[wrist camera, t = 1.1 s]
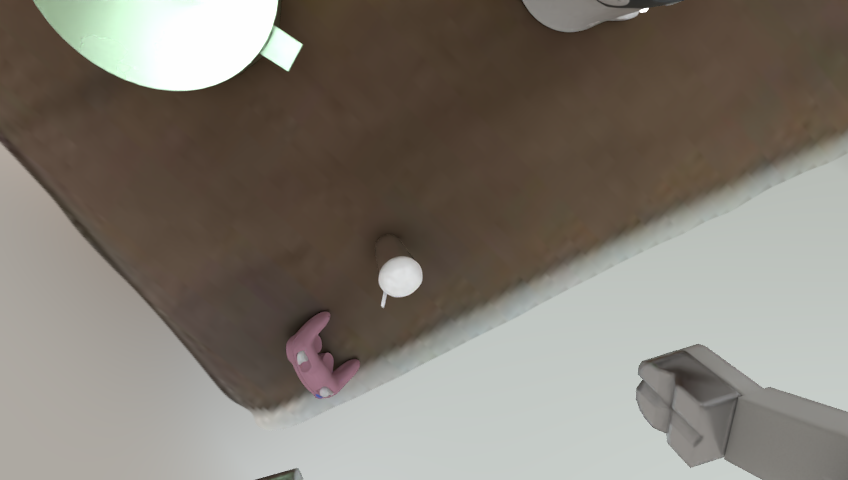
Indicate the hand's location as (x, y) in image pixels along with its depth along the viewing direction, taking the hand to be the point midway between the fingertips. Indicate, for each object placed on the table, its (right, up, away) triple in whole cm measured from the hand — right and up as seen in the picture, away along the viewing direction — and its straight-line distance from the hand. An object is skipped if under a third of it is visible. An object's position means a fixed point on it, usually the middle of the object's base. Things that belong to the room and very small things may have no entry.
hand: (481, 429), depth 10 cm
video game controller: (-14, -9, +44) cm, 47 cm away
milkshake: (-6, +3, +41) cm, 42 cm away
